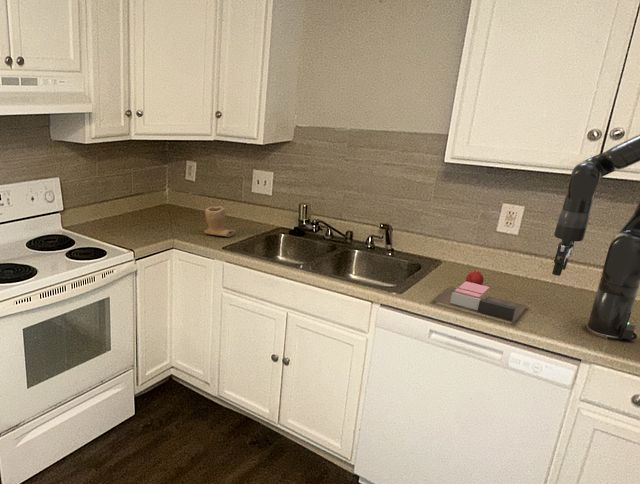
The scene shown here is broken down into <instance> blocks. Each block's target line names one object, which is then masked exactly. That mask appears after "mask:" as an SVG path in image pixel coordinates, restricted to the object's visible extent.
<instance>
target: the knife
mask: <svg viewBox="0 0 640 484" xmlns="http://www.w3.org/2000/svg"><path fill="white" fill-rule="evenodd" d="M450 303H452V304H456V305H460V306H464V307H467V308H471V309H475V310H478V312H482V313H486V314H489V315H493V316H497V317H501V318H504V319H508V320H512V319H513V316H514V312H515V308H516V307H512V306H508V305H504V304H500V303H496V302H492V301H489V300H485V299H477V298H473V297H469V296H465V295H461V294H457V293H453V292H452V296H451V301H450Z"/></svg>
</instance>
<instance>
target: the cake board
mask: <svg viewBox="0 0 640 484" xmlns="http://www.w3.org/2000/svg"><path fill="white" fill-rule="evenodd" d="M456 289H458V287H453V286H449V288H447V289H446V290H444V291H443V292H442V293H441V294H440V295H439V296H437V297H435V299H433V300H432V301H433V302H435V303H438V304H443V305H446V306H451V307H454V308H457V309H462V310H465V311H469V312H473V313H476V314H480V315H484V316H488V317H491V318H494V319H498V320H501V321H506V322H509V323H513V324H514V323H515V322H516V321H517V319H519V317H520V316H521V315H522V313H523V312H524V310H525V309H527V307H528V305H527V304H522V303H519V302H514V301H511V300H506V299H502V298H497V297H495V296H490V295H488V297H487V298H486V299H485V300H489V301H492V302H496V303H500V304H504V305H508V306H512V307H516V308H515V312H514V316H513V319H512V320H508V319H504V318H501V317H497V316H493V315H489V314H486V313H482V312H478V310H475V309H471V308H467V307H464V306H460V305H456V304H452V303H450V301H451V296H452V292H453V293H454V291H455V290H456Z"/></svg>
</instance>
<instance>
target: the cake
mask: <svg viewBox="0 0 640 484" xmlns="http://www.w3.org/2000/svg"><path fill="white" fill-rule="evenodd" d="M457 288H458V289H461V290H465V291H469V292H473V293H478V294H482V297H481V299H486V298H487V297H488V296H489V293H490V289H491V287H490V286H487V285H483V284H482V285H479V284H475V283H471V282H466V281H464V282H463V283H462V284H461V285H459V286H458V287H457Z"/></svg>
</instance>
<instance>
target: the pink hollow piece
mask: <svg viewBox="0 0 640 484" xmlns="http://www.w3.org/2000/svg"><path fill="white" fill-rule="evenodd" d="M226 215H227V213H226V208H224V207H223V206H221V205H220V206H219V205H218V206H210V207H208V208H206V209H205V211H204V216H205V220H206V223H207V229H205V230H204V234H206V235H211V236H217V237H225V238H231V237H232V236H234V235H235V234H236V233H237V230H235V229H230V228H226V227H225V222H226Z"/></svg>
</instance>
